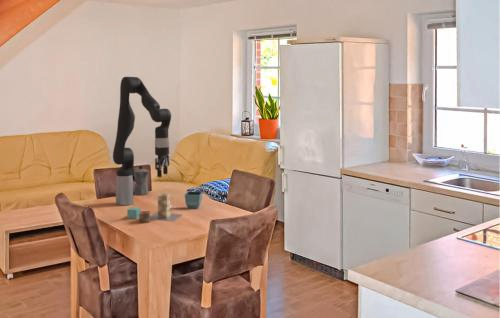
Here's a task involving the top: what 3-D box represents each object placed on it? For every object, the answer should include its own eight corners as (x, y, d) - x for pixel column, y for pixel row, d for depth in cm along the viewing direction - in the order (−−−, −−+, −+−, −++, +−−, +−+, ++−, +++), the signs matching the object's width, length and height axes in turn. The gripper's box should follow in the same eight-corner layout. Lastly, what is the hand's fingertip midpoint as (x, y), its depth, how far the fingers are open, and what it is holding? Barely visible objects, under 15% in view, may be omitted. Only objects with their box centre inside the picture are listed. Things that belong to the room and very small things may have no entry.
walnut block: (139, 225, 280) (139, 213, 279) (140, 222, 285) (140, 211, 284) (149, 224, 280) (149, 213, 279) (150, 222, 285) (149, 211, 284)
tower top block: (158, 206, 288) (157, 195, 287) (160, 204, 293) (160, 193, 292) (167, 207, 288) (167, 195, 287) (169, 204, 292) (169, 193, 292)
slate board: (144, 221, 287) (144, 219, 286) (155, 214, 300) (155, 212, 300) (173, 223, 283) (173, 221, 282) (183, 216, 296) (183, 214, 296)
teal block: (127, 220, 289) (127, 209, 288) (131, 218, 293) (131, 207, 292) (136, 221, 287) (136, 209, 286) (140, 218, 292) (140, 207, 291)
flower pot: (202, 206, 318) (202, 191, 317) (199, 210, 310) (199, 195, 308) (187, 206, 319) (187, 191, 318) (184, 210, 311) (184, 194, 309)
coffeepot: (154, 193, 352) (153, 166, 350) (143, 196, 345) (142, 168, 342) (137, 190, 361) (136, 163, 358) (126, 193, 354) (125, 165, 351)
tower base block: (157, 217, 289) (157, 206, 288) (161, 215, 294) (161, 204, 293) (166, 218, 288) (166, 207, 287) (170, 215, 293) (170, 204, 292)
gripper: (160, 144, 303) (161, 173, 306) (150, 147, 289) (150, 177, 292) (173, 144, 301) (173, 173, 304) (163, 147, 288) (164, 178, 290)
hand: (162, 175), depth 298 cm, fingers open, 8 cm apart
